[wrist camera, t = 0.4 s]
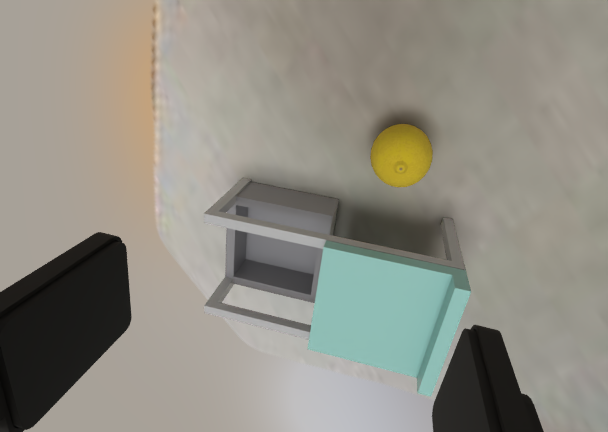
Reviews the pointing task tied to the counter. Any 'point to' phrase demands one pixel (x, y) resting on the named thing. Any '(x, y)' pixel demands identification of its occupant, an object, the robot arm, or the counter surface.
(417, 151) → the lemon
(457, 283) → the lid
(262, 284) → the housing
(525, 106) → the counter surface
